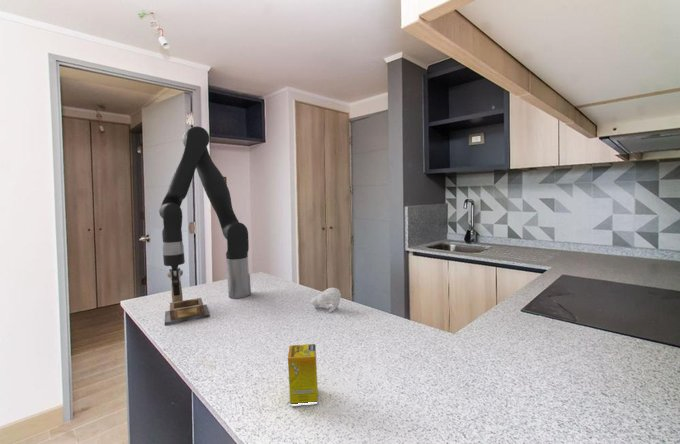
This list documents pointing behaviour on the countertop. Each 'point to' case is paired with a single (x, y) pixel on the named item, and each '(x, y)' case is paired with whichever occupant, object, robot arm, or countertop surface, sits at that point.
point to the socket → (186, 311)
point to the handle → (179, 297)
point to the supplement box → (302, 373)
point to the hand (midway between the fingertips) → (176, 292)
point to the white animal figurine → (327, 299)
